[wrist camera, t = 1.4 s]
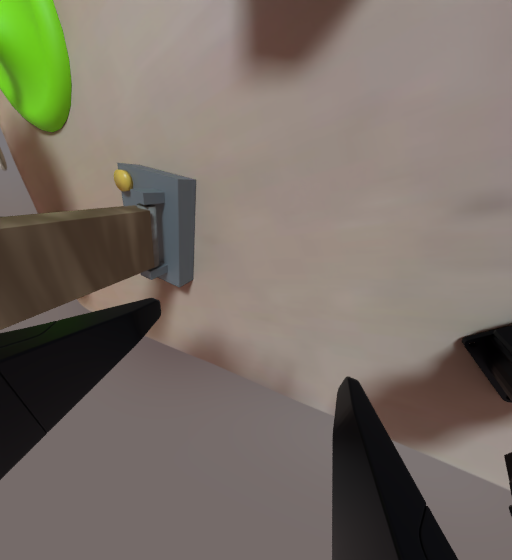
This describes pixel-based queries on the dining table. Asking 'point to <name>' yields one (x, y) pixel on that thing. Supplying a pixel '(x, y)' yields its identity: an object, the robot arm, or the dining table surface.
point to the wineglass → (34, 62)
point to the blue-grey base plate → (164, 216)
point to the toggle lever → (71, 256)
